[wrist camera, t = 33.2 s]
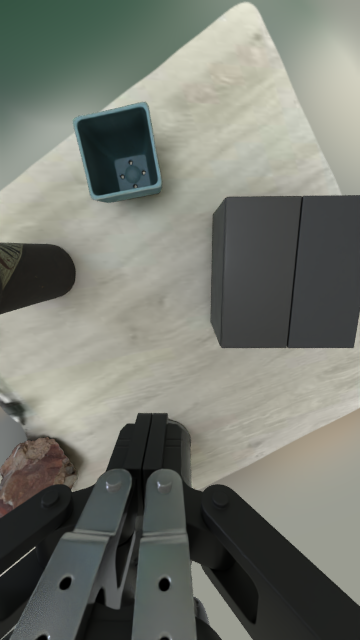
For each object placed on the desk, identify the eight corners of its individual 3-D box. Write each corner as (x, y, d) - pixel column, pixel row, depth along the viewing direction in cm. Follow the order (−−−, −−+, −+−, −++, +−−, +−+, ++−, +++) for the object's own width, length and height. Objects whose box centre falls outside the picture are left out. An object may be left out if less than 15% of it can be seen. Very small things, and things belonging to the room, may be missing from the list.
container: (78, 246, 41) (-17, 238, 22) (77, 302, 43) (-9, 340, 24) (24, 240, 41) (-121, 226, 21) (26, 296, 43) (-104, 329, 24)
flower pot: (111, 212, 40) (91, 200, 31) (96, 148, 38) (70, 116, 29) (167, 201, 39) (162, 186, 30) (156, 136, 37) (147, 100, 28)
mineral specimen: (83, 435, 55) (56, 505, 54) (17, 424, 50) (-16, 502, 48) (90, 467, 45) (56, 555, 43) (7, 458, 39) (-35, 558, 38)
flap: (285, 346, 32) (286, 347, 31) (221, 347, 32) (221, 348, 31) (300, 196, 27) (301, 196, 27) (226, 197, 27) (226, 196, 27)
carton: (305, 321, 43) (354, 348, 31) (210, 321, 44) (221, 348, 31) (318, 213, 39) (380, 194, 27) (212, 214, 40) (226, 196, 27)
